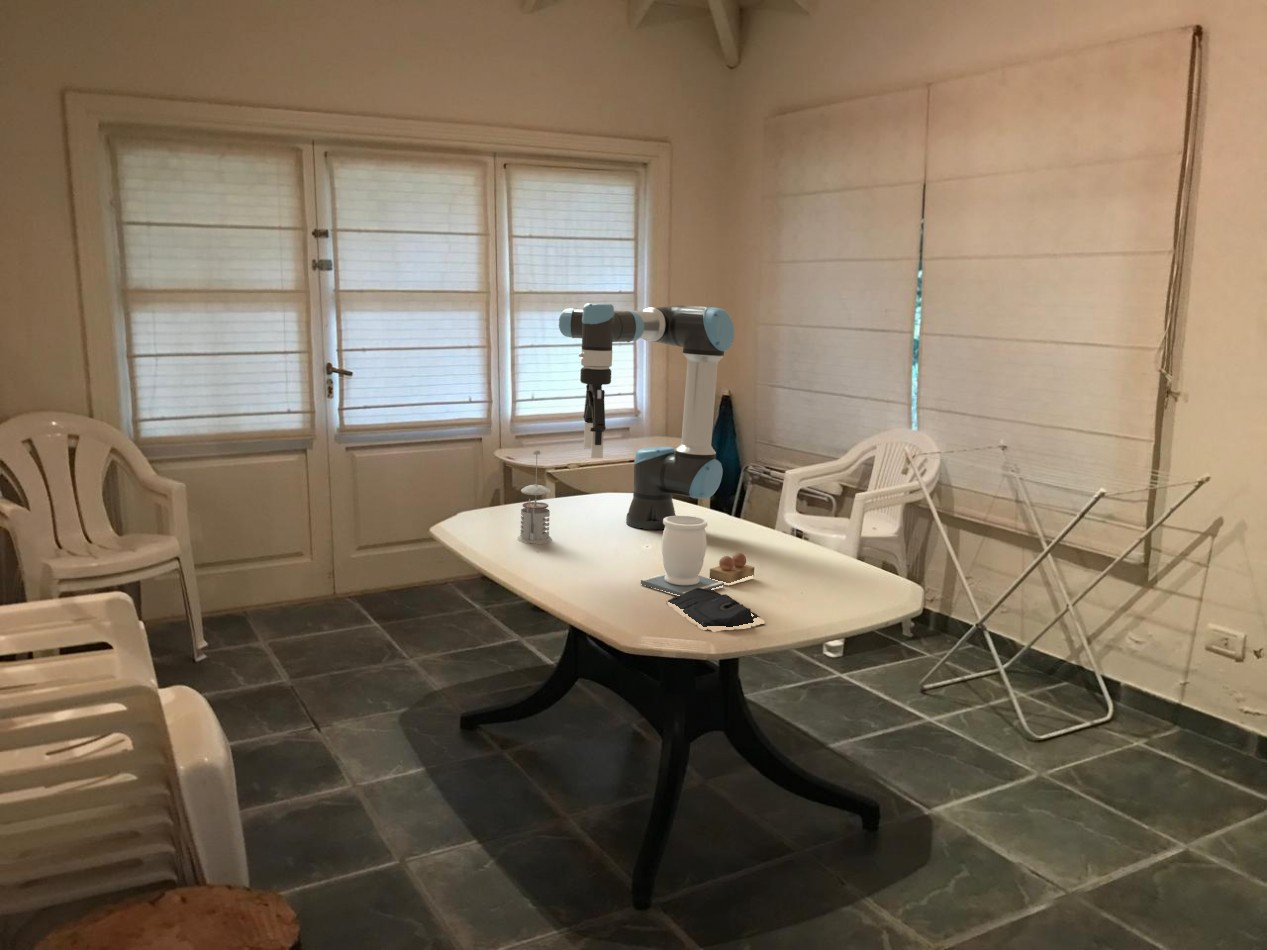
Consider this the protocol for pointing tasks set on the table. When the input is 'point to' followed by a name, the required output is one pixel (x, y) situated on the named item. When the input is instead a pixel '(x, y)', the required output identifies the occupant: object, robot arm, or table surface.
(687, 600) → the dark flat piece
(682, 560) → the jar
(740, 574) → the ball rack
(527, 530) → the french press
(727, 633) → the table surface
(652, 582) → the slate card
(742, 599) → the table surface
